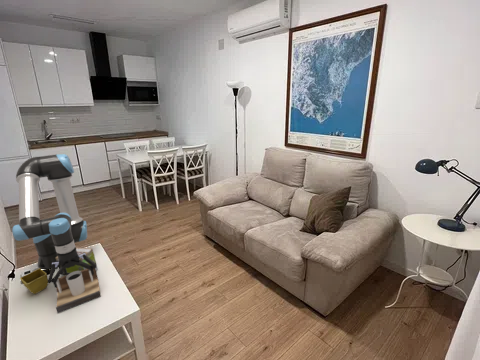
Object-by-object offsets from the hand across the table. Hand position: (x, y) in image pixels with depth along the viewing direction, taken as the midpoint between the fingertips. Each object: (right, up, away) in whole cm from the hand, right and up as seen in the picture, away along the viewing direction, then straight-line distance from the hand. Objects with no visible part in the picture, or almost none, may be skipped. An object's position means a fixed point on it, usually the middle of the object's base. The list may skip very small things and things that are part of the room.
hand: (76, 285), depth 125 cm
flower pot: (-24, -5, +5) cm, 25 cm away
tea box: (-8, -1, +16) cm, 18 cm away
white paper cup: (0, -4, +1) cm, 4 cm away
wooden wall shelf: (+1, -5, +1) cm, 6 cm away
